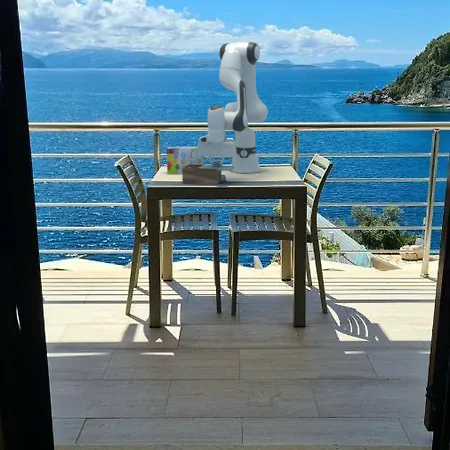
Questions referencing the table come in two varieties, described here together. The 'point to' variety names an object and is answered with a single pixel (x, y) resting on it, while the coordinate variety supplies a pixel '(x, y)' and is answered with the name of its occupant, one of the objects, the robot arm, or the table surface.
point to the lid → (218, 166)
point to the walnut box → (200, 175)
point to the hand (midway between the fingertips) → (216, 165)
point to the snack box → (182, 158)
